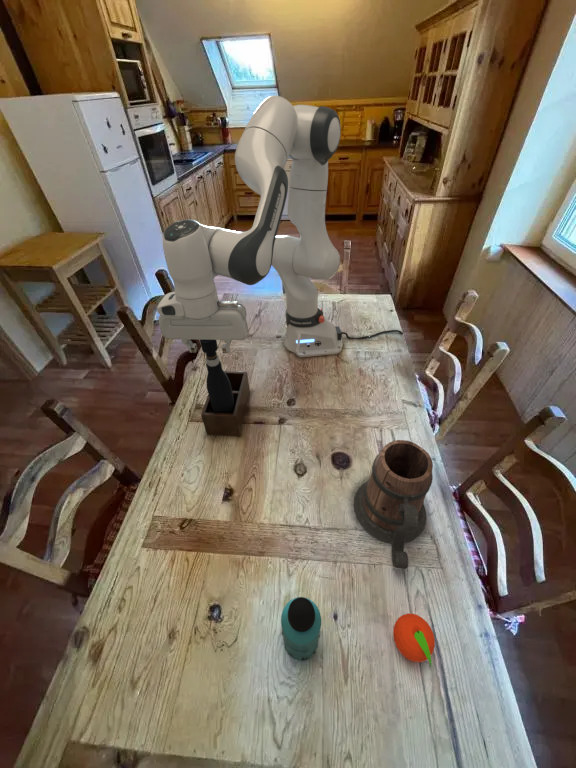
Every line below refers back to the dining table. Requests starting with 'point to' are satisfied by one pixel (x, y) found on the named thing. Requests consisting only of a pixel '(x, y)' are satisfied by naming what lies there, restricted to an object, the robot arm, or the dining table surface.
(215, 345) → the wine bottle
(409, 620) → the clementine
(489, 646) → the dining table surface
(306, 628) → the beverage bottle
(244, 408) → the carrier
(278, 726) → the dining table surface
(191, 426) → the dining table surface
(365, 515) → the tankard
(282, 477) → the dining table surface
